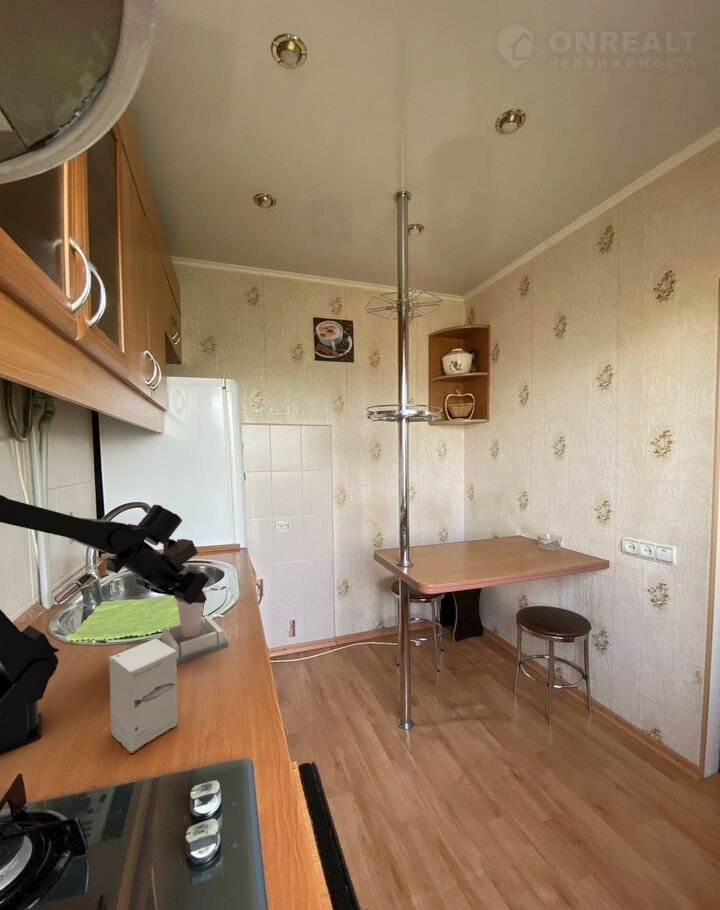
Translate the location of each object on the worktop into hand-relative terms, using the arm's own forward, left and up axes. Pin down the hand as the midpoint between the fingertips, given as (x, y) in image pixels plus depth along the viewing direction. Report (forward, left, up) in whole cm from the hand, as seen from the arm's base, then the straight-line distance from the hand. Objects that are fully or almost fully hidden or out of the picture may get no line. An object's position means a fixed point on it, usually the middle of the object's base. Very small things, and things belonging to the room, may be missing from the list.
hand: (195, 597), depth 86 cm
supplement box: (-22, +15, -11) cm, 29 cm away
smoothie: (0, +1, -8) cm, 8 cm away
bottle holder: (0, +1, -10) cm, 11 cm away
